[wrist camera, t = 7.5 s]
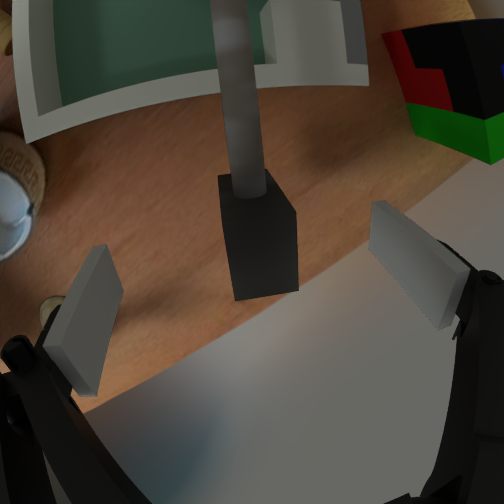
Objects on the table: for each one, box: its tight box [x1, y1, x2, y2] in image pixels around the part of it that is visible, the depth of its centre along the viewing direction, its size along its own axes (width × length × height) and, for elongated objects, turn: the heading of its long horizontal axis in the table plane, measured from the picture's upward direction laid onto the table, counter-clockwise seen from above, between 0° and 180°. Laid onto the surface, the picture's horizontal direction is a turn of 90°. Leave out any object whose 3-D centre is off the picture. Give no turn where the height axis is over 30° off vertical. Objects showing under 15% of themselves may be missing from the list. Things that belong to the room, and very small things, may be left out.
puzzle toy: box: [381, 18, 504, 165], centre depth 17 cm, size 10×10×10 cm
